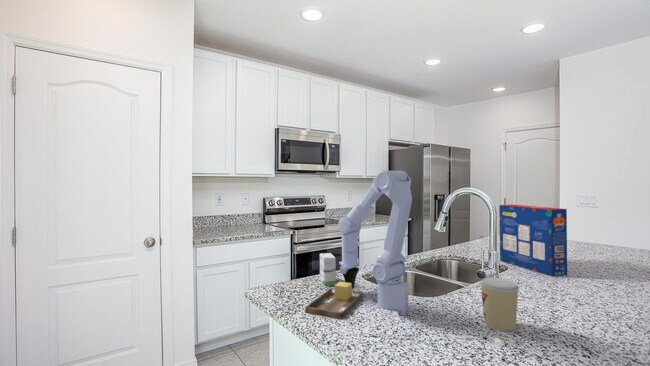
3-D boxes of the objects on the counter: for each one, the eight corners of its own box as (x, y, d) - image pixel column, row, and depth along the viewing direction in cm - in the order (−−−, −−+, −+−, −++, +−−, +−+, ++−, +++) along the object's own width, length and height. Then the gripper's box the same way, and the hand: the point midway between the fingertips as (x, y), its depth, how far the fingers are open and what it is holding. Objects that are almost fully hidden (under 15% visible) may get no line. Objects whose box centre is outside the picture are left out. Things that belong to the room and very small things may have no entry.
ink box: (336, 287, 123) (336, 257, 123) (324, 288, 122) (323, 258, 122) (331, 281, 132) (331, 252, 132) (319, 282, 131) (319, 253, 131)
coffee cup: (485, 315, 97) (485, 275, 97) (521, 323, 91) (521, 281, 91) (477, 326, 90) (476, 283, 89) (515, 336, 84) (515, 290, 84)
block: (351, 296, 111) (351, 283, 111) (347, 300, 107) (347, 287, 107) (339, 294, 113) (339, 281, 113) (334, 298, 109) (334, 285, 109)
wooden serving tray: (363, 300, 110) (362, 292, 110) (342, 323, 93) (342, 313, 93) (330, 295, 115) (330, 288, 115) (305, 316, 98) (305, 307, 98)
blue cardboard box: (567, 275, 136) (566, 209, 135) (552, 276, 134) (551, 209, 134) (513, 259, 163) (512, 204, 163) (499, 260, 161) (499, 205, 161)
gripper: (346, 246, 124) (347, 281, 124) (331, 254, 111) (332, 293, 111) (364, 247, 121) (364, 283, 121) (350, 255, 108) (351, 296, 108)
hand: (350, 288), depth 116 cm, fingers closed
